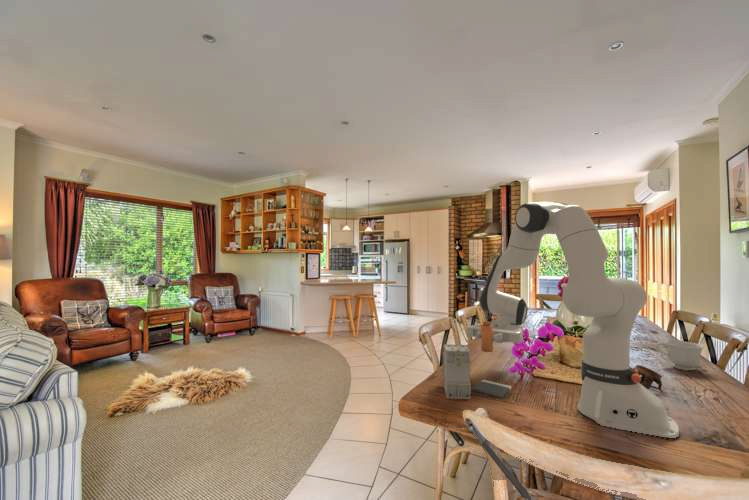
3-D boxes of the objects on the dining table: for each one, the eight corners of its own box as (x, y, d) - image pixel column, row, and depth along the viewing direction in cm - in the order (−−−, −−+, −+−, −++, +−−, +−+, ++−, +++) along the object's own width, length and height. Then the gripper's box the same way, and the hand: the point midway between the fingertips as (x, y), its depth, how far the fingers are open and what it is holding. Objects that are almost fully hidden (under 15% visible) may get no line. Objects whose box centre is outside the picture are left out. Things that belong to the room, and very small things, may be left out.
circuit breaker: (463, 382, 120) (462, 340, 120) (470, 398, 105) (470, 351, 106) (442, 381, 120) (441, 340, 121) (446, 397, 106) (446, 350, 107)
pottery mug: (619, 381, 122) (629, 362, 122) (649, 398, 117) (659, 377, 118) (630, 384, 111) (642, 362, 112) (663, 402, 107) (675, 379, 107)
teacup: (651, 361, 145) (651, 338, 145) (697, 366, 138) (696, 342, 138) (661, 369, 134) (660, 344, 134) (710, 375, 127) (710, 349, 127)
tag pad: (511, 388, 114) (511, 386, 114) (501, 397, 106) (501, 395, 106) (482, 381, 120) (482, 379, 120) (471, 390, 112) (471, 387, 112)
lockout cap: (494, 350, 120) (494, 322, 120) (490, 352, 116) (490, 323, 117) (483, 348, 122) (483, 320, 122) (479, 350, 119) (479, 322, 119)
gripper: (473, 319, 136) (458, 324, 125) (526, 325, 123) (515, 331, 112) (473, 335, 136) (459, 341, 125) (526, 342, 123) (515, 350, 112)
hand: (485, 337), depth 119 cm, fingers closed on lockout cap, 4 cm apart
